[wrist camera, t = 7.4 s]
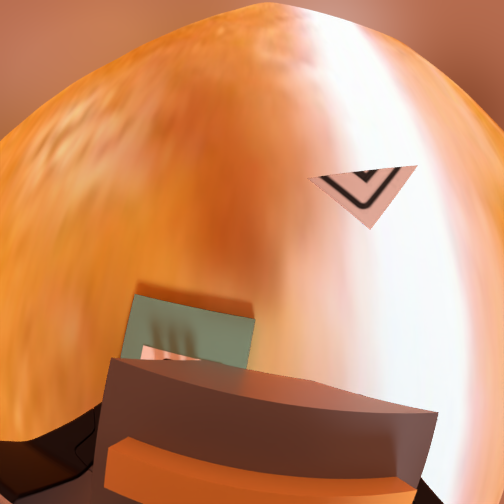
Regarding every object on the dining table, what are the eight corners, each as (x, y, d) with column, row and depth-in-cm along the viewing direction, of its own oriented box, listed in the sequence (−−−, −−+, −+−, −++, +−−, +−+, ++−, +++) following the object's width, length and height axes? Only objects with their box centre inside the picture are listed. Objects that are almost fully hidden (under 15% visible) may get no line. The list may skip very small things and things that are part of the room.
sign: (370, 229, 26) (170, 87, 33) (369, 230, 26) (171, 88, 33) (417, 165, 29) (235, 52, 36) (417, 166, 29) (235, 53, 36)
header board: (230, 449, 19) (227, 466, 16) (115, 417, 20) (93, 424, 16) (255, 320, 23) (256, 313, 19) (139, 296, 24) (120, 284, 20)
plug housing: (298, 435, 14) (402, 568, 2) (194, 415, 14) (71, 521, 2) (311, 380, 15) (463, 416, 3) (206, 359, 16) (88, 355, 4)
